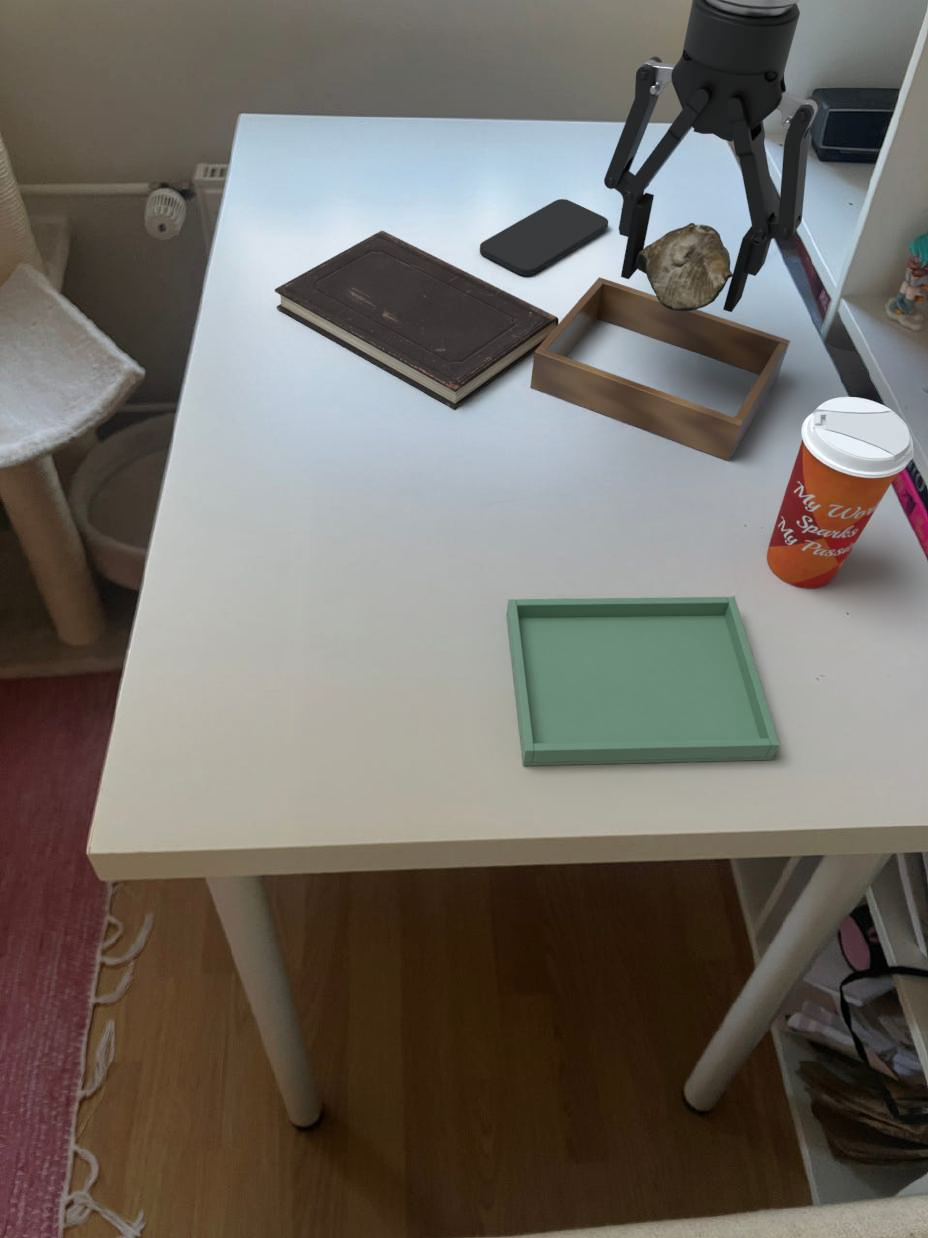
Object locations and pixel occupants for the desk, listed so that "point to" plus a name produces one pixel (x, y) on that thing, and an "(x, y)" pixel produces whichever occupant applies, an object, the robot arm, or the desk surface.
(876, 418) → the paper cup
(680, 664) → the tray
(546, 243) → the phone
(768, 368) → the rectangular frame
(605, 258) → the desk surface
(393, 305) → the hardcover book
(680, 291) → the fossilized seashell
